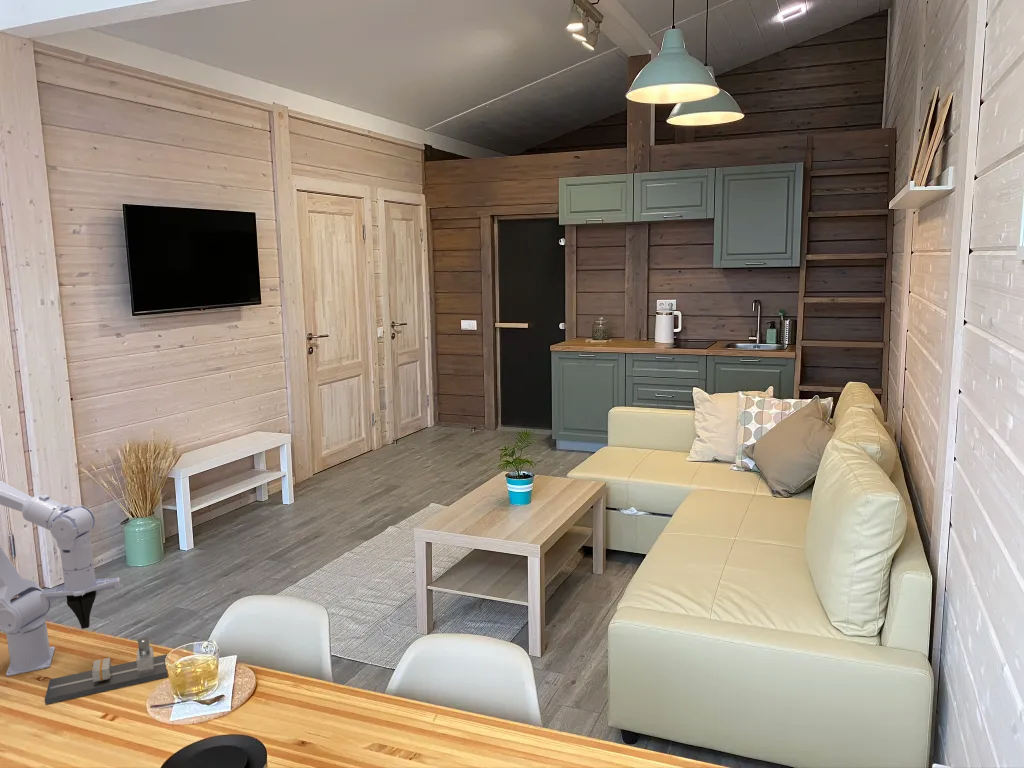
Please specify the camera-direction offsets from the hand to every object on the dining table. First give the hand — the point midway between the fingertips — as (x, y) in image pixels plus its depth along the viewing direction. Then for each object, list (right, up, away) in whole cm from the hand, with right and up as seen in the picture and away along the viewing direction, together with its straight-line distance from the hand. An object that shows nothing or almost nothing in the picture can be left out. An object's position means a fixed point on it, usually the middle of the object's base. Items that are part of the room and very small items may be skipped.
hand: (85, 626), depth 162 cm
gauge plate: (+7, -10, -4) cm, 13 cm away
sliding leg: (+6, -8, -5) cm, 12 cm away
